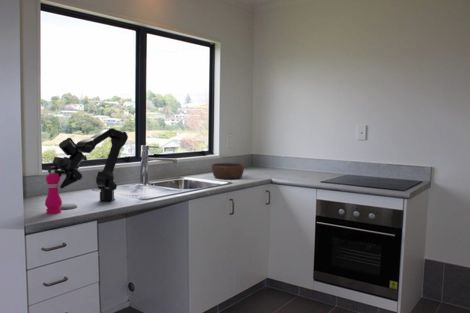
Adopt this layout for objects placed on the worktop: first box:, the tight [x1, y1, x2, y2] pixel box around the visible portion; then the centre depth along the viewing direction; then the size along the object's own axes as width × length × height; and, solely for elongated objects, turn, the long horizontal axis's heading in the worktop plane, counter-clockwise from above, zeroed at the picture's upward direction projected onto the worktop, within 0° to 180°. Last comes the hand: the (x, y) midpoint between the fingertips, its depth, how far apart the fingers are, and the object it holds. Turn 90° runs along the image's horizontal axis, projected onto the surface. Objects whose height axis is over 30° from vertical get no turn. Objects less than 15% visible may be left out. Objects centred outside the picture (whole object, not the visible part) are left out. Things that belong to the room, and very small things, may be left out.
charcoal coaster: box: [60, 203, 78, 211], centre depth 202 cm, size 10×10×1 cm
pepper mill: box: [44, 170, 63, 215], centre depth 190 cm, size 7×7×20 cm
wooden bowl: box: [211, 162, 245, 180], centre depth 315 cm, size 25×25×10 cm
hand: (54, 187), depth 191 cm, fingers open, 9 cm apart
